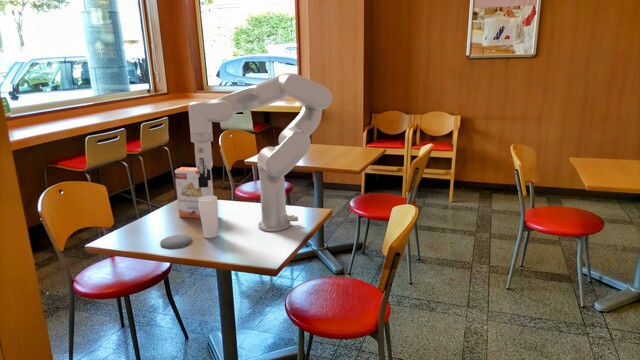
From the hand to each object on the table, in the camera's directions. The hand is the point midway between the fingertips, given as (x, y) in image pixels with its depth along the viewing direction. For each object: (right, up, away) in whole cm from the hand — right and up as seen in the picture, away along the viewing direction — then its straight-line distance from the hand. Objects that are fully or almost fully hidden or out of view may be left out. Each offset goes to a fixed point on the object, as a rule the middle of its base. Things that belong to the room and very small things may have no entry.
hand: (205, 183), depth 161 cm
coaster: (-11, -21, 0) cm, 24 cm away
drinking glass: (+1, -20, +5) cm, 21 cm away
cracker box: (-10, -14, +27) cm, 33 cm away
